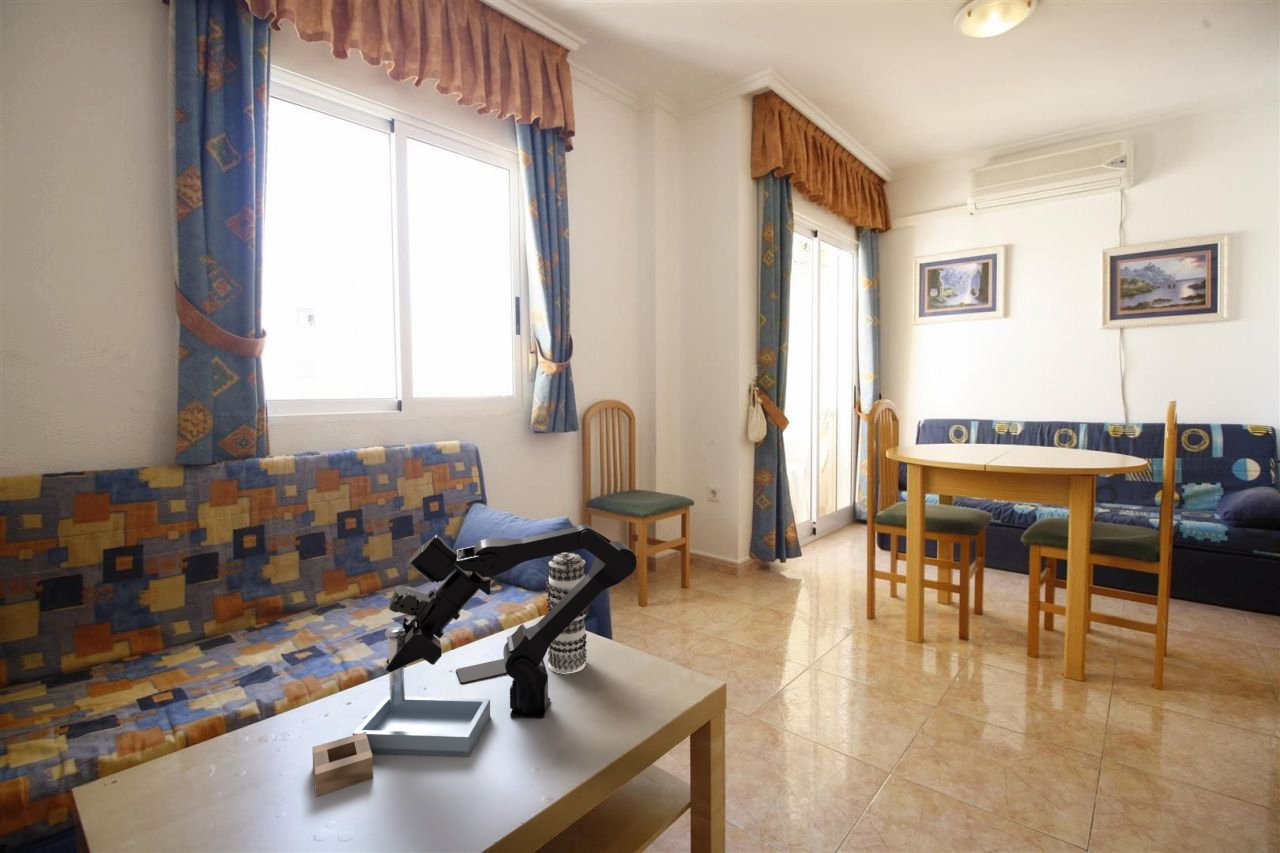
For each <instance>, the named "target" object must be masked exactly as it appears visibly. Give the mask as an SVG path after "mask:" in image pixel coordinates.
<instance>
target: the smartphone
mask: <svg viewBox="0 0 1280 853" xmlns="http://www.w3.org/2000/svg"><path fill="white" fill-rule="evenodd" d="M455 673H456V677H457V679H458V682H459V684H460V685H465V684H466V685H467V684H470V683H475V682H479V681H485V680H489V679H494V678H497V677H498V676H499V677H502V675H504V676H507V672H506V669H505V663H504V658H502V659H501V658H500V659H496V660H492V661H487V662H482V663H478V664H474V665H467V666H464V667H459V668H457V669H455ZM499 677H498V678H499Z"/></svg>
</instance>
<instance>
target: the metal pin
mask: <svg viewBox="0 0 1280 853" xmlns="http://www.w3.org/2000/svg"><path fill="white" fill-rule="evenodd" d="M403 631H405V629H404V628H403V626H402V627H401V626H395V627H391V628H388V629H386V630H385V632H384V634H385V638H387V645H388V646H387V648H388V649H387V650H388V657H389V662H390V661H391V659H392V658H393V657H394V655H395V654H396V652H397V651H398V649H399V648H400V646H401V645H402V644H403V636H402V635H403ZM404 668H405V666H403V667H401V668H399V669H397V670H395V671H393V672H389V671H388V674H389V675H388V676H389V677H388V678H389V696H390V703H391V704H393V705H397V704H401V703H403V702H404V701H405V697H406V696H405V694H406V693H405V692H406V691H405V669H404Z"/></svg>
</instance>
